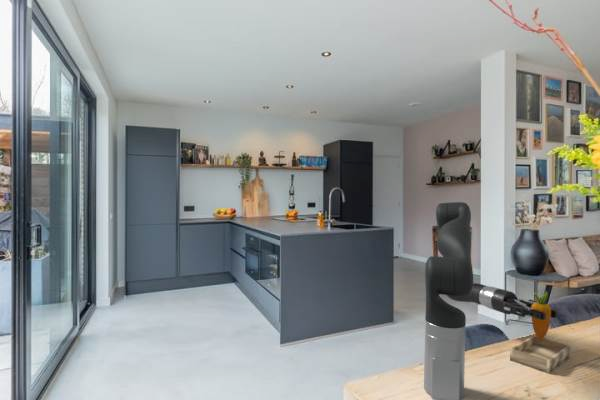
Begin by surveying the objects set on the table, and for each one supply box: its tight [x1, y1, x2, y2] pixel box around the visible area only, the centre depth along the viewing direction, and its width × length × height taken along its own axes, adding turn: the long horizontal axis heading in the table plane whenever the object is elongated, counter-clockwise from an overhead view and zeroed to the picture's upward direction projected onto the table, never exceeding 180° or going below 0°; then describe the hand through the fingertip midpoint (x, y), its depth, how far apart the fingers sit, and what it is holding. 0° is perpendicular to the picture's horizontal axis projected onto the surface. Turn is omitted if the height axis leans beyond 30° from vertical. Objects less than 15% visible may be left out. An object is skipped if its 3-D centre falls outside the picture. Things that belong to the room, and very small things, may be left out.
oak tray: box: [509, 335, 571, 375], centre depth 106 cm, size 18×10×4 cm, turn 127°
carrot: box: [531, 291, 552, 341], centre depth 106 cm, size 5×5×15 cm
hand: (550, 315), depth 104 cm, fingers closed on carrot, 5 cm apart
